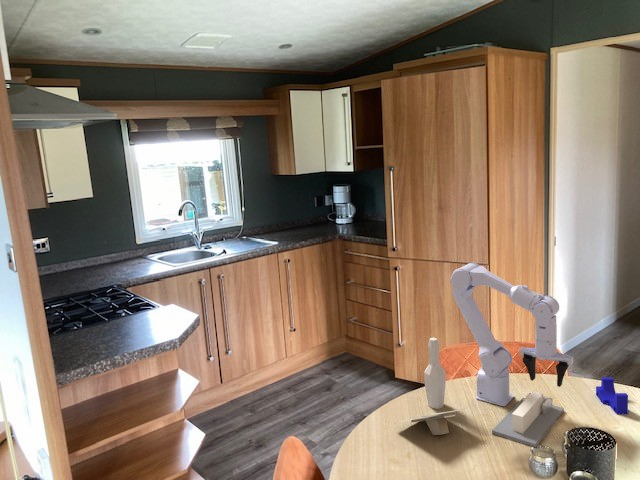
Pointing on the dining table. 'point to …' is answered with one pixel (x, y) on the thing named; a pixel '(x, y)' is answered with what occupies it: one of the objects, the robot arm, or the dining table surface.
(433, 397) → the low poly bottle
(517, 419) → the white rail
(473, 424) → the dining table surface
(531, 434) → the grey base plate
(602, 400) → the blue stepped block
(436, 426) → the tilted plate on foot
